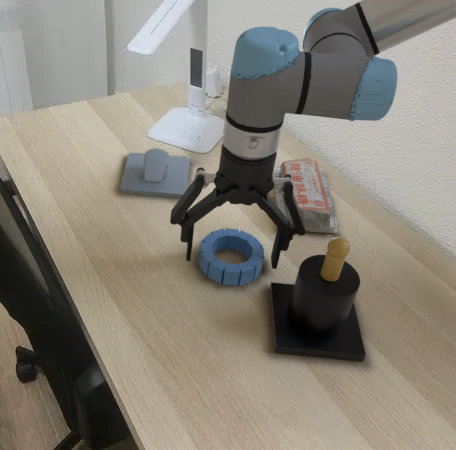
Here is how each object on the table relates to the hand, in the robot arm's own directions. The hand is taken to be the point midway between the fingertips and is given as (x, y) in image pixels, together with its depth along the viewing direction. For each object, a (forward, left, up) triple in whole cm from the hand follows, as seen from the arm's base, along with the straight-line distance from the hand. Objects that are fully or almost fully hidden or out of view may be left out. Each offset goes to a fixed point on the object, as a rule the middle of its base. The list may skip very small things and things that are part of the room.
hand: (230, 259), depth 88 cm
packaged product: (-13, -18, -1) cm, 22 cm away
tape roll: (0, 0, -1) cm, 1 cm away
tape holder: (-12, +11, -1) cm, 16 cm away
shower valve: (+14, -21, -1) cm, 25 cm away
